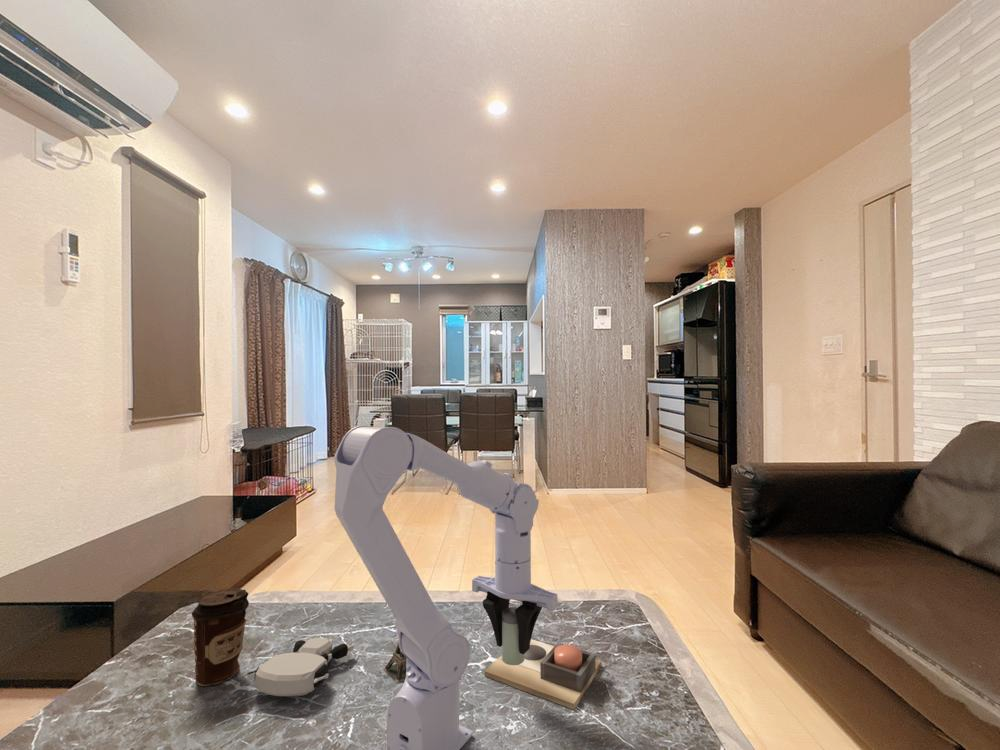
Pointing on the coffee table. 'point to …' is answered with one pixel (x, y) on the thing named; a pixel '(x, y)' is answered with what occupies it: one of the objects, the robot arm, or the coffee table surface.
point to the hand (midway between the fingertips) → (513, 647)
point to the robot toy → (298, 668)
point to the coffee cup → (219, 635)
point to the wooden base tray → (547, 675)
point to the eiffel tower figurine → (397, 666)
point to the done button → (568, 657)
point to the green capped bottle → (510, 638)
